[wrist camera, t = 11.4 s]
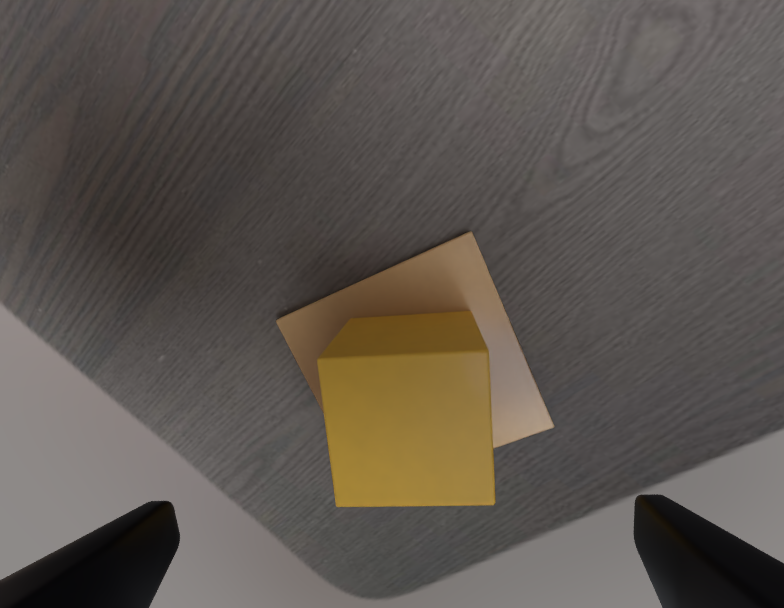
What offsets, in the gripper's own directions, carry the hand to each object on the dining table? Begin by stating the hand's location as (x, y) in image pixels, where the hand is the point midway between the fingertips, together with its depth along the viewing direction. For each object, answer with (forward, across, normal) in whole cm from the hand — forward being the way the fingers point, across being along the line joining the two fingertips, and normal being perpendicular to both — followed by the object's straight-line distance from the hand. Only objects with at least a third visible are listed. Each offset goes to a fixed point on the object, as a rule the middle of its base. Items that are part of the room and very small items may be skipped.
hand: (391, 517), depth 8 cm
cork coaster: (+8, 0, 0) cm, 8 cm away
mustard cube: (+8, 0, 0) cm, 8 cm away
